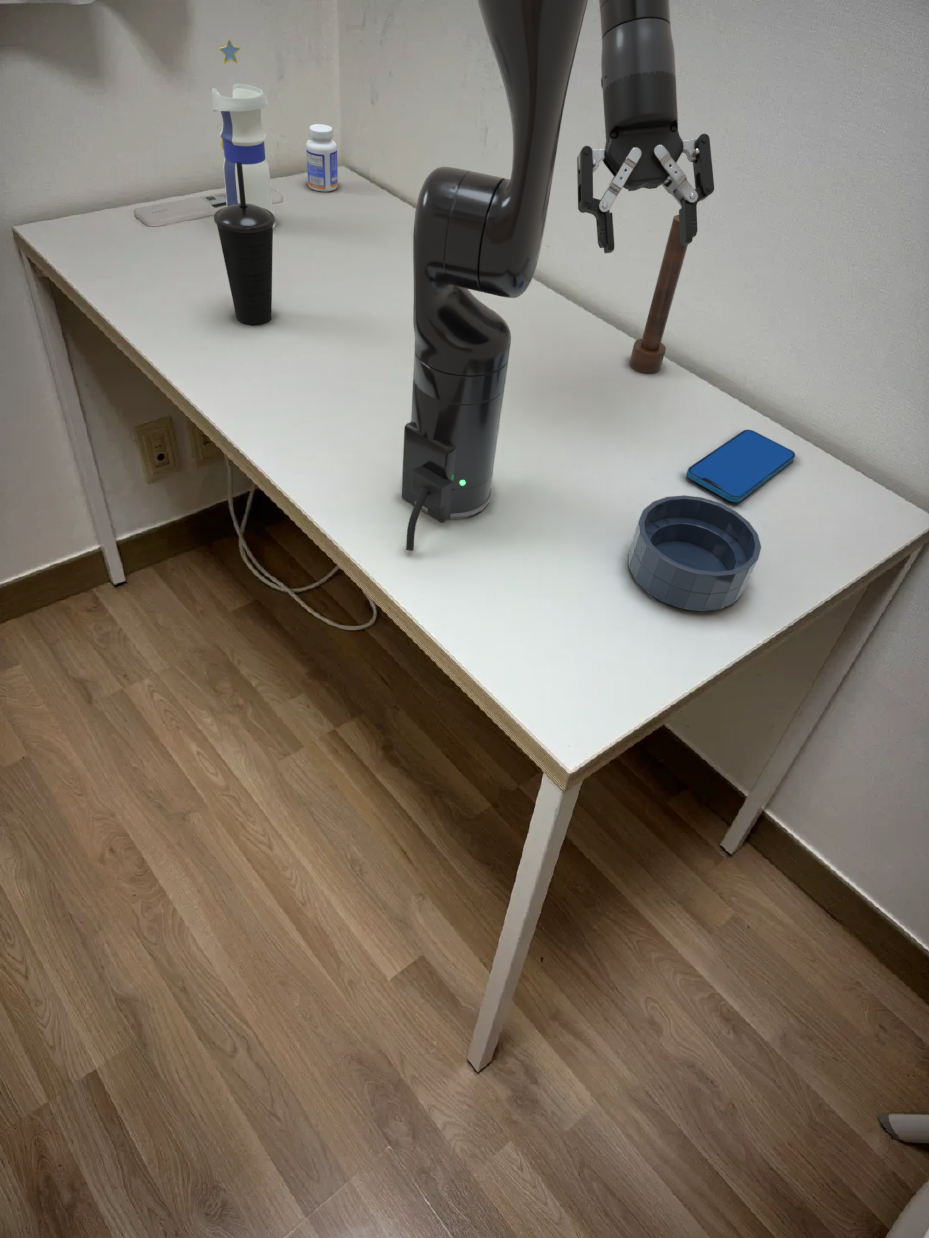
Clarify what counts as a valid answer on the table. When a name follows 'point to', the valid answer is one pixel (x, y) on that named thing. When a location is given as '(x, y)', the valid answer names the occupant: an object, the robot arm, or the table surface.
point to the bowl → (693, 553)
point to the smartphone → (740, 465)
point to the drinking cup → (248, 256)
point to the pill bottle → (321, 158)
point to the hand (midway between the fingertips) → (648, 248)
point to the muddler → (660, 306)
